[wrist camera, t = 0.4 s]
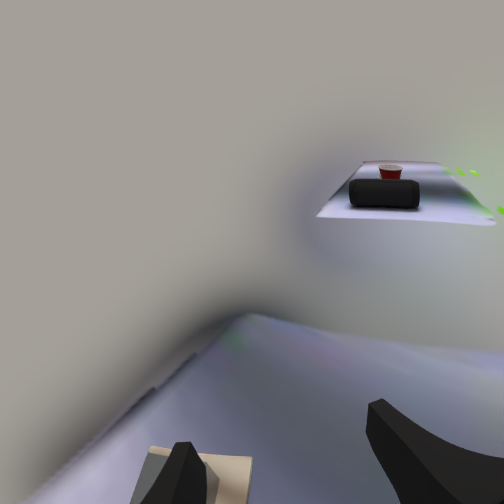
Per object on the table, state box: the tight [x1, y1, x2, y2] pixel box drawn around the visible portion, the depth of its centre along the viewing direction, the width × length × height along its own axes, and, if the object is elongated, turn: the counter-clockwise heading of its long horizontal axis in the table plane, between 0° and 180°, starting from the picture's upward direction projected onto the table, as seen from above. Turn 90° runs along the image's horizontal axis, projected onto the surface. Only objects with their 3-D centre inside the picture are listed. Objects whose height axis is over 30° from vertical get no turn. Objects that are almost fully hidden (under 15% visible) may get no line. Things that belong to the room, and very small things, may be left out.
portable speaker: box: [349, 179, 420, 208], centre depth 92 cm, size 26×10×10 cm, turn 63°
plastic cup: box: [378, 164, 403, 179], centre depth 105 cm, size 11×11×12 cm
